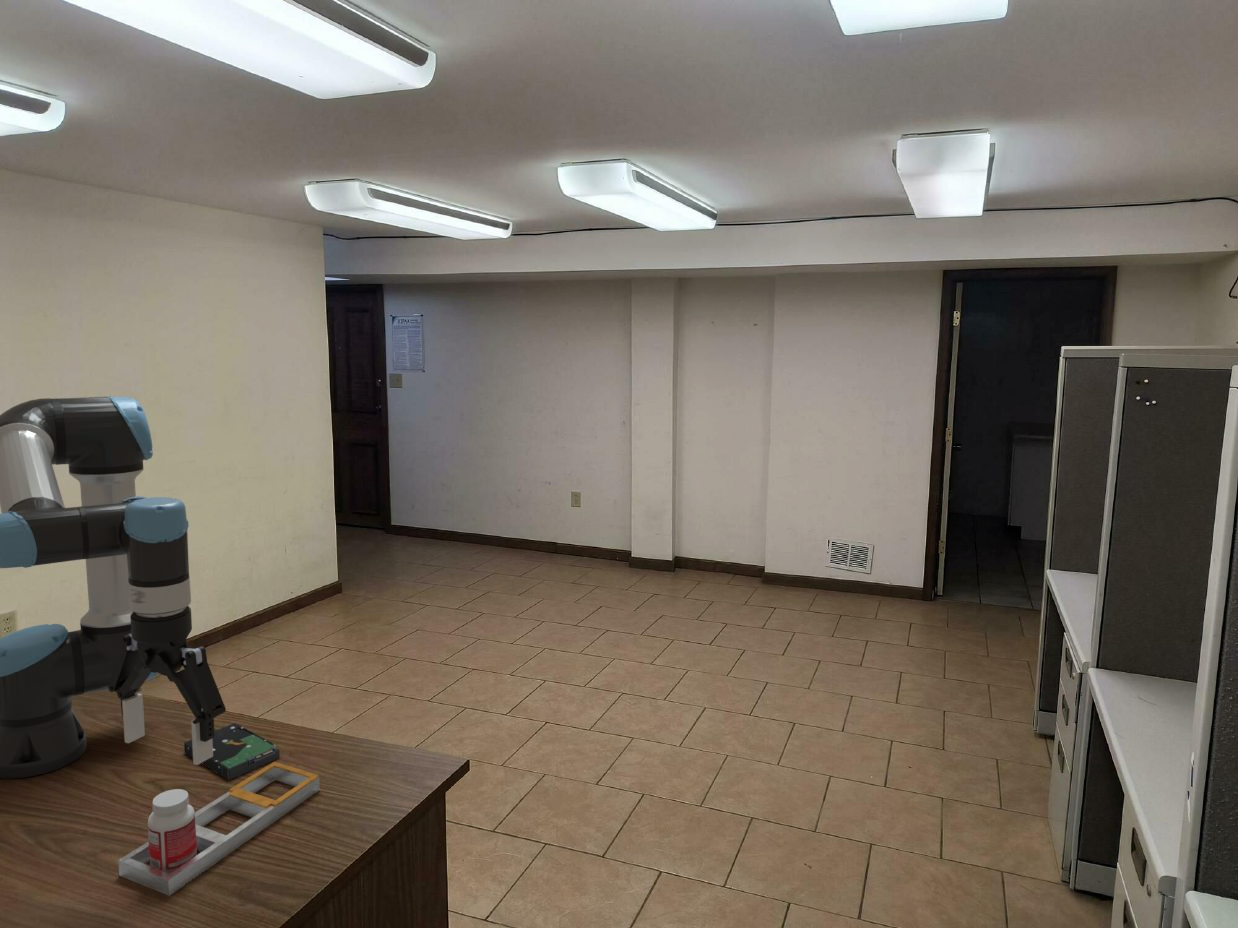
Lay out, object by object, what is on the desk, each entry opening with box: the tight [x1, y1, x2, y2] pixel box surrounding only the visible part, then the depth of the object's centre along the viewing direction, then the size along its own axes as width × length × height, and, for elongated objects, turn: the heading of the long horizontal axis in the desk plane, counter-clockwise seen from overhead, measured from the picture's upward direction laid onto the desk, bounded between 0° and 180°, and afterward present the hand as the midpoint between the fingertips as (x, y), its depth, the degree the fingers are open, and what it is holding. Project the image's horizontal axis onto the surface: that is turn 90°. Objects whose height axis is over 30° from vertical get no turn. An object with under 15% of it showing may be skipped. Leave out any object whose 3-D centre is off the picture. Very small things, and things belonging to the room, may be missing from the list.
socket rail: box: [118, 761, 320, 897], centre depth 134 cm, size 10×30×3 cm, turn 158°
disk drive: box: [183, 722, 281, 781], centre depth 156 cm, size 10×3×15 cm
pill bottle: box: [147, 788, 198, 874], centre depth 124 cm, size 6×6×11 cm
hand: (168, 749), depth 122 cm, fingers open, 13 cm apart
